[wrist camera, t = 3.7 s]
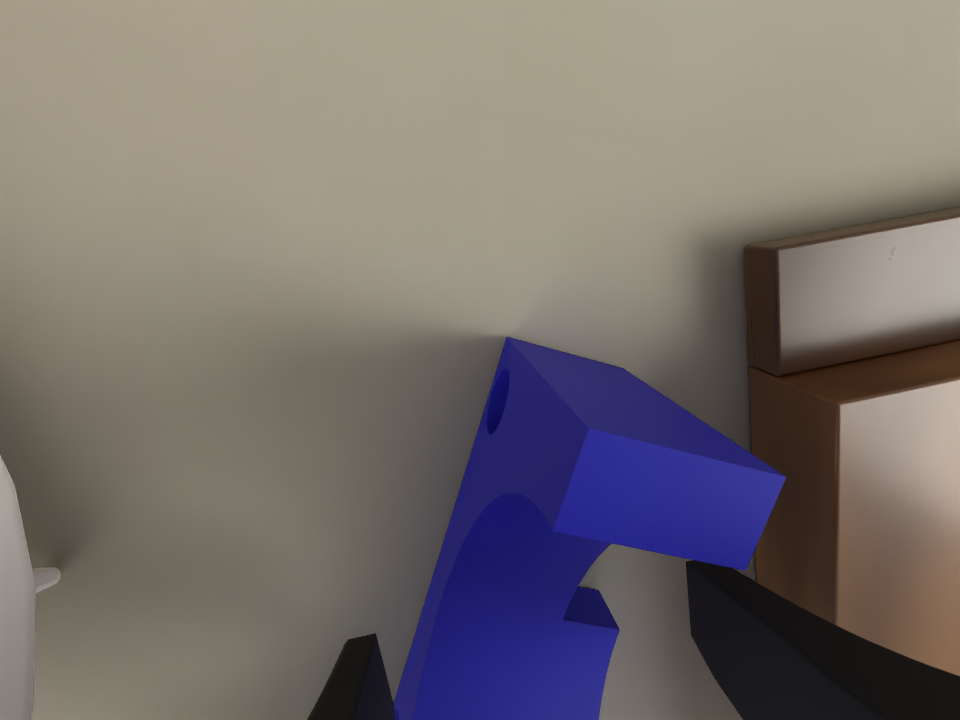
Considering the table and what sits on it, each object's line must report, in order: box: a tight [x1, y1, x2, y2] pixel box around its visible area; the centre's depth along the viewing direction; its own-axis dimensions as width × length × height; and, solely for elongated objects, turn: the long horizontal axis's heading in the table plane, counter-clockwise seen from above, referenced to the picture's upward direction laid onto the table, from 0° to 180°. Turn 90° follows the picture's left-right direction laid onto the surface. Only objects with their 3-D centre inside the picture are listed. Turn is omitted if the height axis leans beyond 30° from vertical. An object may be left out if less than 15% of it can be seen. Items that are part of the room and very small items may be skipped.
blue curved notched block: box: [394, 337, 786, 720], centre depth 12 cm, size 12×4×6 cm, turn 163°
